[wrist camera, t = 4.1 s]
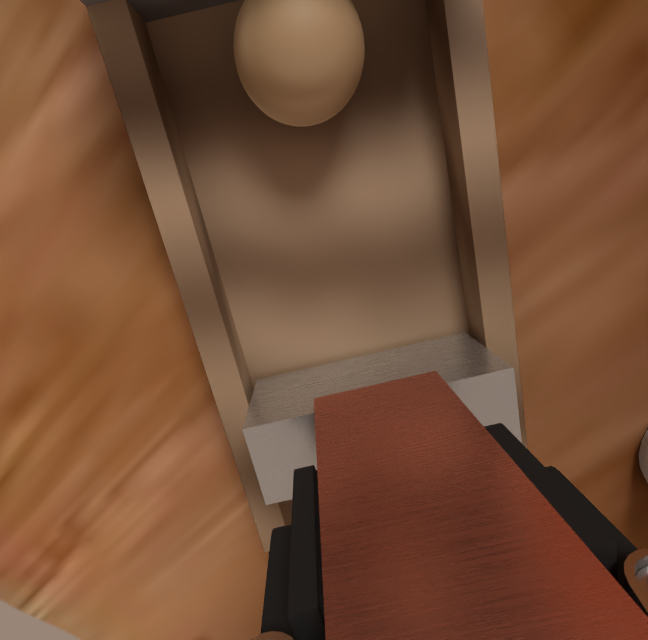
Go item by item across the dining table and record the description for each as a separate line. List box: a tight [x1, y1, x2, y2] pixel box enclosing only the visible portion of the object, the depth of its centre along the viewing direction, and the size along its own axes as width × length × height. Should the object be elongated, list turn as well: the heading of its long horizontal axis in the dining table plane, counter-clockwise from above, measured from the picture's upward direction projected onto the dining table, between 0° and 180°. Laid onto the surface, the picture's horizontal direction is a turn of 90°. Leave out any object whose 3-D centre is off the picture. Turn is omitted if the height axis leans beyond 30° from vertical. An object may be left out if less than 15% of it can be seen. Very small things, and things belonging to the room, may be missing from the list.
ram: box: [242, 332, 648, 640], centre depth 10 cm, size 4×9×14 cm, turn 103°
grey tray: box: [80, 0, 527, 553], centre depth 13 cm, size 24×12×7 cm, turn 13°
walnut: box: [233, 0, 365, 127], centre depth 12 cm, size 4×4×4 cm
